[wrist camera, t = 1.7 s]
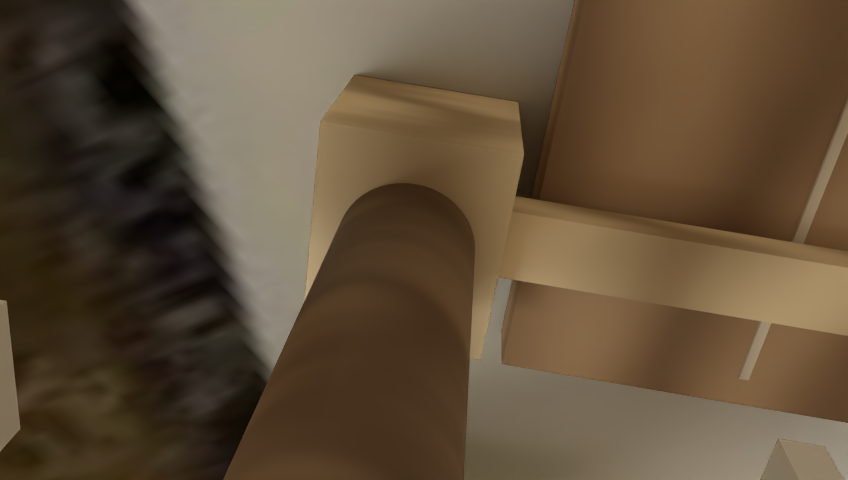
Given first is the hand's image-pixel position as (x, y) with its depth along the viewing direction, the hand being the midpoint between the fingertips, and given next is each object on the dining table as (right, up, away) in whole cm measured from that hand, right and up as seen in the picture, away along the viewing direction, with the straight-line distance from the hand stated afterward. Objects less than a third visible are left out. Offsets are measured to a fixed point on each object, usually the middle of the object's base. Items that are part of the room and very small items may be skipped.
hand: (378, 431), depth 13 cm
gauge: (+6, +4, +11) cm, 13 cm away
